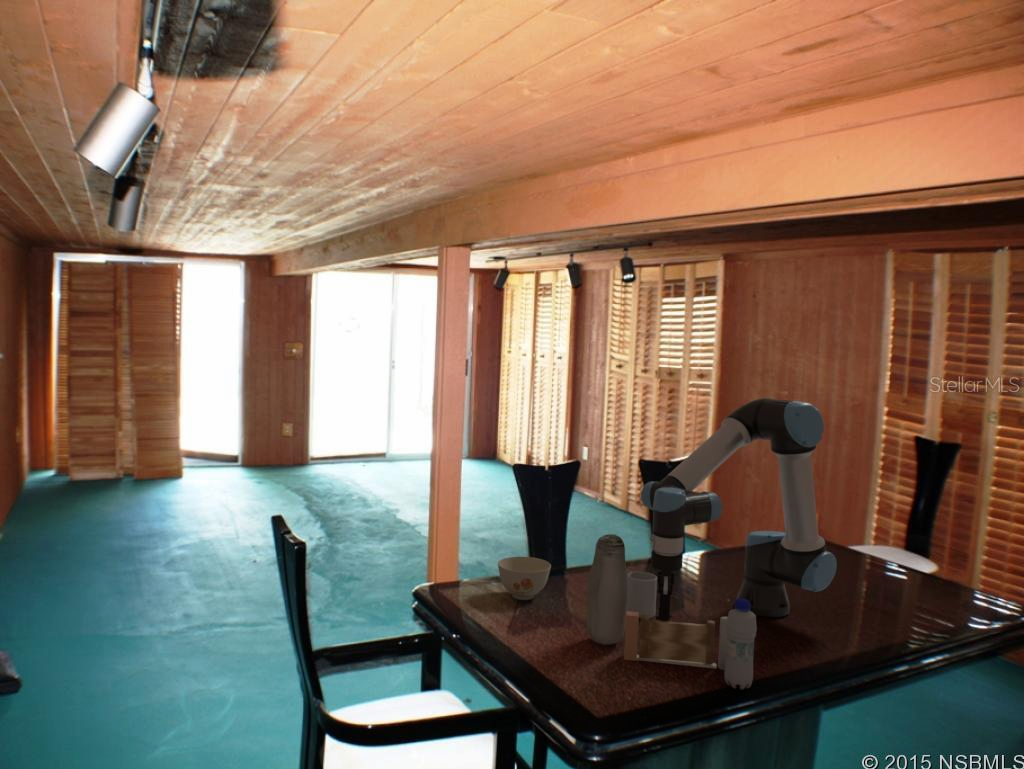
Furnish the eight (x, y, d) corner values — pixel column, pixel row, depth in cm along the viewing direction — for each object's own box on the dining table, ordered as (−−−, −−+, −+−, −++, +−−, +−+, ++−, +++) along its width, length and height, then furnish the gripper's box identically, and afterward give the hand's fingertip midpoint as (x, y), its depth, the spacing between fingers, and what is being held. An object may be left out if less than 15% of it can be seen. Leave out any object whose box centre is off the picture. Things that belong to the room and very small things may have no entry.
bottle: (718, 678, 176) (723, 594, 175) (746, 678, 176) (751, 594, 175) (729, 691, 169) (734, 604, 168) (758, 691, 170) (763, 604, 168)
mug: (661, 616, 215) (663, 579, 214) (635, 620, 212) (637, 581, 211) (638, 603, 226) (639, 566, 225) (613, 605, 222) (615, 569, 222)
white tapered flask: (615, 653, 188) (621, 542, 186) (578, 643, 193) (583, 535, 191) (631, 641, 196) (636, 535, 194) (595, 632, 201) (600, 528, 200)
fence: (730, 665, 183) (733, 617, 182) (732, 671, 180) (735, 622, 179) (624, 654, 187) (626, 607, 187) (624, 659, 184) (626, 611, 184)
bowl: (487, 600, 223) (489, 566, 222) (508, 585, 238) (509, 553, 237) (538, 609, 217) (540, 575, 216) (556, 593, 232) (558, 561, 231)
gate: (711, 661, 183) (713, 620, 182) (712, 664, 181) (715, 623, 181) (638, 654, 185) (640, 614, 184) (639, 657, 183) (641, 617, 183)
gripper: (652, 542, 192) (648, 632, 194) (650, 557, 180) (646, 653, 182) (682, 545, 190) (677, 635, 193) (683, 560, 178) (678, 656, 180)
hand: (662, 643), depth 187 cm, fingers closed
